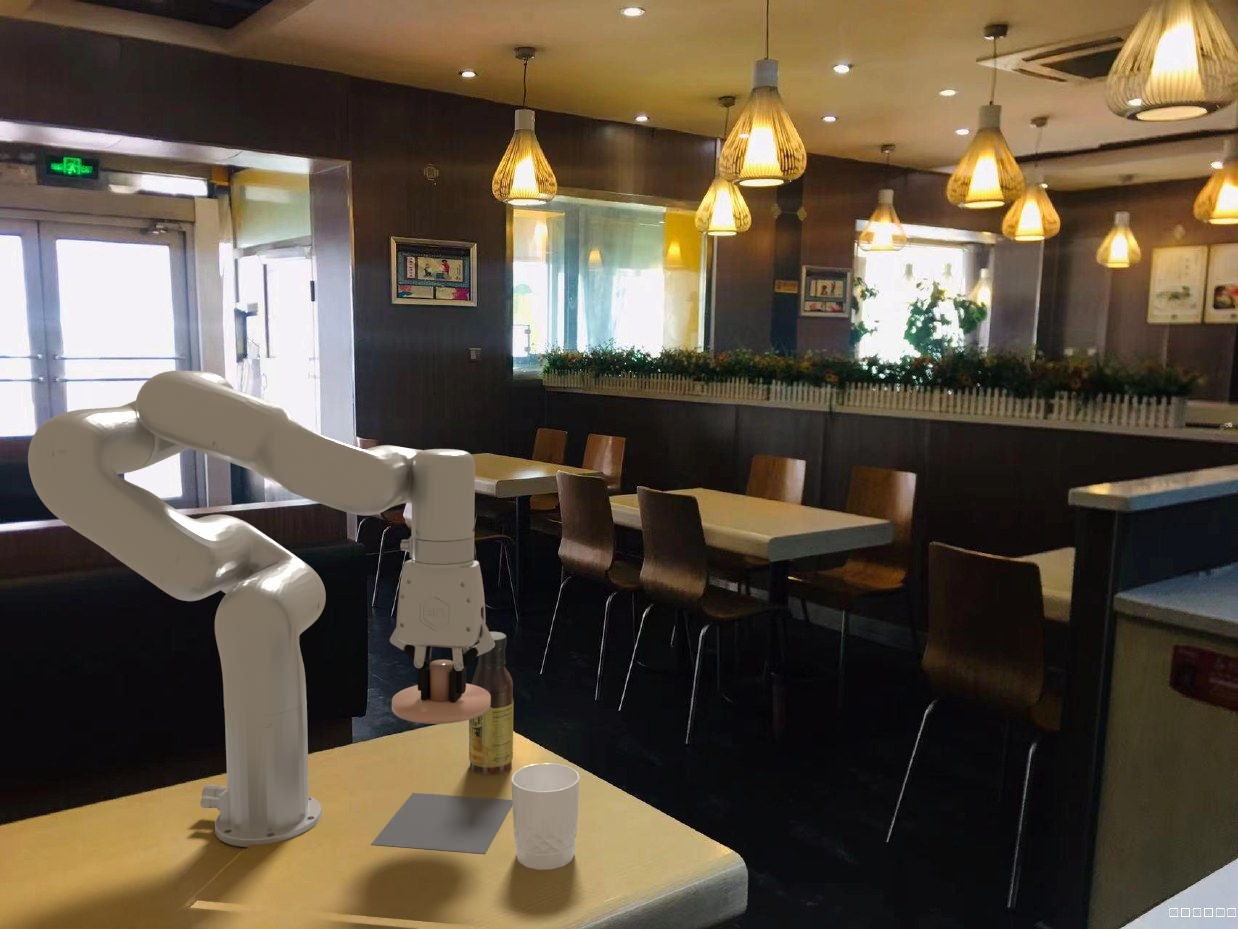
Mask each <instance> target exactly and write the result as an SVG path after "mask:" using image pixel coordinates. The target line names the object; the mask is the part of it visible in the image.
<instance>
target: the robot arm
mask: <svg viewBox="0 0 1238 929" xmlns="http://www.w3.org/2000/svg"><path fill="white" fill-rule="evenodd" d="M189 449H190V450H193V451H197V452H199V453H202V454H205V455H208V456H210V457H212V458H216V459H219V460H222V461H225V462H227V463H231V464H233V465H236V466H240V467H241V468H245V469H247V470H250V471H253V472H255V473H257V474H259V475H260V476H262V477H263V478H264V479H266V480H267V481H270V482H272V483H273V484H274V485H277V486H279V487H281V488H283V489H284V490H286V491H288V492H290V493H292V494H294V495H296V496H299V497H302V498H304V499H306V500H309V501H312V502H315V503H318V504H321V505H324V506H327V507H329V508H332V509H336V510H339V511H342V512H345V513H348V514H353V515H358V516H376V515H378V514H381V513H383V512H385V511H387V510H388V509H389V510H390V508H393V507H395V506H398V505H402V504H411V536H409V538H408V539H401V541H400V551H405V552H408V553H409V558H411V559H408V560H406V561H405V562H404V563H403V568H402V572H401V579H400V585H399V591H398V599H397V600H398V602H397V611H396V612H397V613H396V627H395V629H394V630H393V632H392V634H391V636H390V638H389V642H390V644H392V645H393V646H395V647H397V648H398V649H400V650H402V651H403V652H404V653H405V654H406V655H407V657H409V659H411V661H412V662H413V665H414V667H415V668H416V669H417V685H418V691H421V700H426V699H428V698H429V689H430V662H432V648H434V647H435V648H450V649H451V650H452V661H453V663H454V664H453V669H452V670H451V671H450V673H449V701H451V702H454V703H455V702H456V701H457V700H458V699H459V698H460V697H461V696H462V694H464V693H465V690H466V683H467V665H468V664H470V663H471V662H472V661H473V660H474V659H475V658H476V657H479V655H481V654H484V653H486V652H488V651H490V650H491V649H492V648H493V647H494V646H495V642H494V640H493V638H492V636H491V634H490V632H491V631H489V627H488V626H487V624H486V602H485V592H484V591H485V590H484V584H483V577H482V576H483V575H482V571H481V566H480V562H479V561H478V560H475V507H476V506H475V498H476V494H475V492H476V491H475V490H476V487H475V486H476V484H475V483H476V462H475V459H474V456H473V455H472V454H471V453H470V452H468V451H465V450H463V449H462V450H460V449H454V448H452V449H451V448H433V449H424V450H423V449H415V448H408V447H401V446H397V445H390V444H386V445H385V444H384V445H382V444H381V445H377V446H373V447H369V448H365V449H362V448H359V447H355V446H352V445H350V444H346V443H343V442H341V441H338V440H335V439H332V438H331V437H330V438H329V437H327V436H324V435H321V434H319V433H318V432H314V431H312V430H311V429H308V428H306V427H305V426H303V425H301V424H300V423H299V422H298V421H297V420H295V418H294V417H293V415H292V414H291V412H290V411H289V410H288V409H287V408H285V407H284V406H283V405H280V404H279V403H275V402H273V401H270V400H267V399H263V398H260V397H257V396H254V395H252V394H248V393H246V392H244V391H240V390H238V389H235V388H234V387H233V386H232V384H231V383H230V382H229V381H228V380H227V379H225V378H223V377H222V376H220V375H218V374H216V373H214V372H210V371H207V370H170V371H163V372H161V373H158V374H156V375H153V376H152V377H150V378H149V379H148V380H146V381H145V382H144V383H143V385H142V386H140V389H139V391H138V393H137V396H136V399H135V400H134V401H133V400H132V401H131V402H128V403H126V404H123V405H119V406H116V407H115V406H114V407H101V408H100V407H98V408H83V409H77V410H72V411H65V412H63V413H60V414H58V415H55V416H53V417H51V418H50V419H47V420H46V421H44V422H43V423H42V424H41V425H40V426H39V427H38V428H37V429H36V431H35V433H34V434H33V436H32V438H31V440H30V444H29V448H28V454H27V463H28V466H27V467H28V473H29V476H30V479H31V483H32V485H33V488H34V490H35V492H36V494H37V496H38V497H39V499H40V501H41V502H42V503H43V505H44V506H45V507H46V508H47V509H48V510H49V512H51V513H52V514H53V515H54V516H55V517H56V518H57V519H59V520H60V521H61V522H62V523H64V524H65V525H67V526H68V527H70V528H71V529H73V530H74V531H76V532H77V533H78V534H81V536H84V537H85V538H86V539H88V540H89V541H91V542H93V543H94V544H96V545H97V546H99V547H100V548H102V549H104V550H105V551H106V552H107V553H109V554H110V555H112V556H113V557H114V558H116V559H117V560H118V561H119V562H121V563H123V564H124V565H125V566H127V567H129V568H130V569H131V570H133V571H134V572H136V573H137V574H138V575H140V576H142V577H143V578H144V579H146V580H147V581H149V582H150V583H152V584H153V585H155V586H156V587H157V588H158V589H160V590H162V591H163V592H164V593H166V594H168V595H169V596H171V597H173V598H175V599H177V600H180V601H186V602H195V601H200V600H203V599H205V598H207V597H209V596H211V595H214V594H216V593H218V592H220V591H221V592H222V593H224V594H225V595H224V596H223V597H222V599H221V601H220V603H219V605H218V607H217V609H216V613H215V618H214V634H215V640H216V645H217V650H218V654H219V658H220V666H221V673H222V684H223V686H222V688H223V708H224V725H225V727H224V728H225V730H224V731H225V751H226V752H225V755H226V786H225V785H220V784H210V783H209V784H208V783H207V784H205V786H204V787H203V789H202V791H201V800H200V807H201V808H205V809H206V808H207V809H213V808H214V809H217V810H218V811H219V815H218V816H217V817H216V819H215V822H214V834H215V836H216V837H217V838H218V840H220V841H222V842H223V843H226V844H228V845H231V846H235V847H241V848H242V847H243V848H249V847H250V846H253V845H254V846H257V845H265V844H266V845H269V844H273V843H279V842H282V841H286V840H289V839H292V838H295V837H298V836H300V835H302V834H304V833H306V832H307V831H310V830H311V829H312V828H314V827H315V826H316V825H317V824H318V823H319V822H320V820H321V819H322V817H323V806H322V804H321V803H320V802H319V800H317V799H316V798H314V797H312V796H310V793H309V792H310V789H309V788H310V784H309V782H310V781H309V780H310V779H309V751H308V750H309V749H308V747H309V746H308V745H309V744H308V741H309V740H308V709H307V706H308V705H307V704H308V702H307V700H308V699H307V683H306V672H305V671H306V670H305V664H304V661H303V656H302V651H301V646H300V635H301V634H302V633H303V632H305V631H306V630H307V629H308V628H310V627H311V626H312V625H313V624H314V623H315V622H316V621H317V620H318V619H319V617H320V616H321V614H322V613H323V610H324V608H325V605H326V600H327V599H326V596H327V595H326V589H325V585H324V583H323V581H322V578H321V577H320V576H319V574H318V573H317V572H316V571H315V570H314V569H313V567H311V566H310V565H309V564H307V563H306V562H305V561H303V560H302V559H301V558H299V557H298V556H296V555H295V554H294V553H292V551H289V550H288V549H286V548H285V547H284V546H282V545H281V544H280V543H278V542H276V541H275V540H274V539H272V538H271V537H269V536H268V535H266V534H265V533H263V532H262V531H260V530H259V529H258V528H256V527H255V526H254V525H251V524H250V523H248V522H247V521H245V520H242V519H240V518H238V517H235V516H233V515H232V516H231V515H227V514H211V515H206V516H201V517H199V518H191V517H189V516H188V515H186V514H184V513H182V512H181V511H179V510H177V509H176V508H174V507H173V506H171V505H169V504H168V503H167V502H165V501H164V500H163V499H161V498H160V497H159V496H158V495H156V494H154V493H153V492H151V491H149V490H147V489H145V488H144V487H141V486H139V485H137V484H135V483H131V482H130V481H128V480H126V479H125V478H123V477H121V476H120V475H122V474H128V473H133V472H136V471H139V470H141V469H142V470H143V469H145V468H148V467H151V466H153V465H155V464H157V463H159V462H162V461H164V460H167V459H168V458H170V457H172V456H175V455H177V454H180V453H183V452H184V451H186V450H189ZM478 639H479V644H477V641H478Z"/></svg>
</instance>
